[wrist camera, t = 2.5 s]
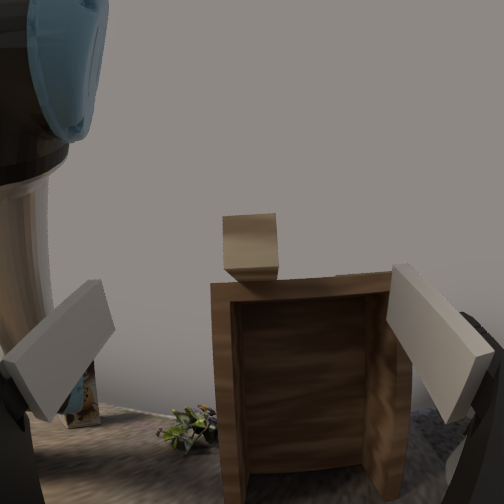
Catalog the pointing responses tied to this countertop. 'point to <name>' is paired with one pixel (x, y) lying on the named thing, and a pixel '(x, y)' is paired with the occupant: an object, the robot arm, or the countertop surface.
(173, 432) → the passion flower
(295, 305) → the walnut stand
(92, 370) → the coffee box
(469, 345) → the robot arm
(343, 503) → the countertop surface
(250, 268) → the maple bar
